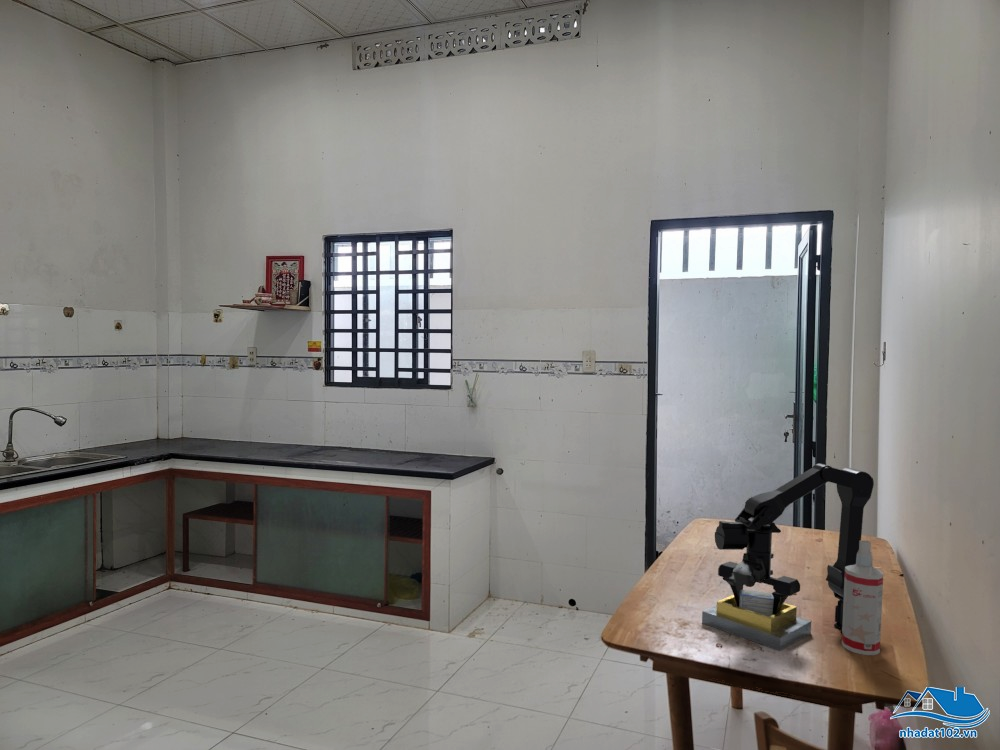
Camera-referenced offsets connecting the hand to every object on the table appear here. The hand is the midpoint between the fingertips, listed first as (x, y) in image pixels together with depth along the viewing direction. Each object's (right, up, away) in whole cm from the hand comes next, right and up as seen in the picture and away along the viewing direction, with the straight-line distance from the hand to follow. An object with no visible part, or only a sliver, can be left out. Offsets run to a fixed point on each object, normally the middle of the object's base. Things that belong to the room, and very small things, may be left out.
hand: (756, 612), depth 164 cm
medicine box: (0, -4, 0) cm, 4 cm away
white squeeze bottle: (+20, -5, -10) cm, 23 cm away
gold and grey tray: (0, -4, 0) cm, 4 cm away
